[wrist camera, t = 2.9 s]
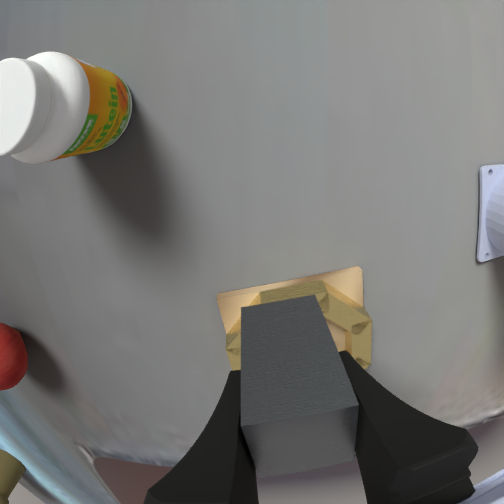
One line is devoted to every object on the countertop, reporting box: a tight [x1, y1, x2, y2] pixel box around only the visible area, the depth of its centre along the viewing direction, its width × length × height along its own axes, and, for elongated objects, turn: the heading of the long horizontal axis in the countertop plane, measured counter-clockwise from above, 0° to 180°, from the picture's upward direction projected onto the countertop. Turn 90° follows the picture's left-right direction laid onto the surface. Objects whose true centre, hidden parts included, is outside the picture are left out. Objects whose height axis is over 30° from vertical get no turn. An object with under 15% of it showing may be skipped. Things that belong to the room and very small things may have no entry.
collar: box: [226, 279, 372, 371], centre depth 22 cm, size 10×10×2 cm
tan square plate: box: [217, 266, 363, 352], centre depth 23 cm, size 10×10×1 cm
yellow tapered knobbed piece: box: [0, 450, 26, 504], centre depth 28 cm, size 6×6×11 cm
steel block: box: [241, 295, 359, 477], centre depth 12 cm, size 4×4×7 cm
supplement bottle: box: [0, 52, 132, 164], centre depth 13 cm, size 5×5×10 cm
